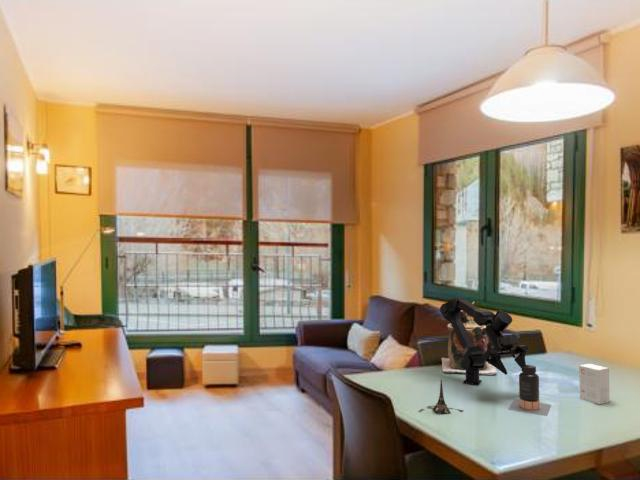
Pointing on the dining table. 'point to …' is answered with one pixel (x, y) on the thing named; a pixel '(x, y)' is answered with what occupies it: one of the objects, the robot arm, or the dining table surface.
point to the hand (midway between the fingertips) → (516, 372)
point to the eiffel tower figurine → (440, 405)
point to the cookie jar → (457, 350)
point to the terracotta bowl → (530, 404)
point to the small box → (594, 383)
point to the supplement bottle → (529, 383)
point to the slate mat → (542, 411)
